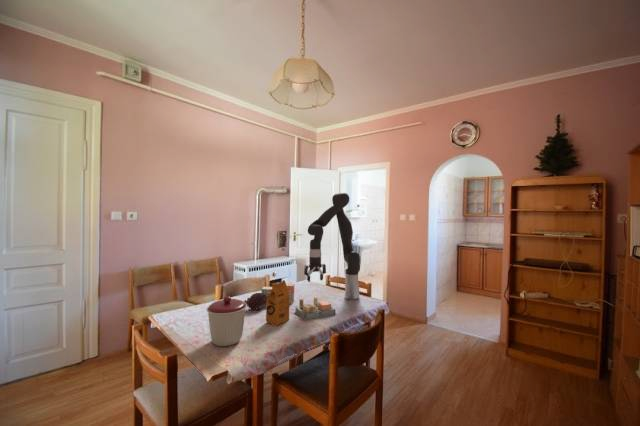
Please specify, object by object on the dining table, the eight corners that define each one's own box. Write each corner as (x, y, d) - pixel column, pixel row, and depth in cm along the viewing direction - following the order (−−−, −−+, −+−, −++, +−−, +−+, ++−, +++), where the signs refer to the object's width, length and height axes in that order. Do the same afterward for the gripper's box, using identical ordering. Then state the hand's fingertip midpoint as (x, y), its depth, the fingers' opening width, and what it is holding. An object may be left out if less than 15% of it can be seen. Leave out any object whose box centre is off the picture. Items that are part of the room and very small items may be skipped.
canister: (252, 343, 127) (253, 298, 127) (211, 355, 117) (212, 305, 117) (239, 329, 142) (239, 289, 142) (202, 338, 132) (202, 294, 131)
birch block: (304, 307, 175) (305, 298, 175) (316, 316, 161) (316, 306, 161) (296, 309, 173) (296, 299, 172) (307, 318, 158) (307, 308, 158)
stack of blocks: (261, 302, 184) (261, 284, 184) (263, 299, 190) (263, 282, 190) (292, 304, 182) (292, 285, 182) (294, 301, 188) (294, 283, 188)
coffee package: (263, 322, 151) (263, 282, 151) (278, 315, 162) (279, 278, 161) (276, 327, 146) (276, 285, 145) (291, 319, 156) (292, 281, 156)
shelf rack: (324, 306, 178) (324, 302, 178) (335, 314, 165) (335, 309, 165) (295, 311, 168) (295, 306, 168) (305, 319, 156) (305, 314, 156)
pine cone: (265, 303, 182) (265, 288, 182) (273, 307, 175) (274, 292, 175) (240, 309, 170) (240, 293, 170) (248, 314, 163) (248, 297, 163)
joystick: (318, 305, 180) (318, 296, 180) (331, 313, 166) (331, 303, 165) (310, 306, 177) (310, 297, 177) (322, 315, 163) (322, 305, 163)
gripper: (322, 254, 183) (322, 278, 184) (302, 255, 177) (302, 280, 178) (327, 256, 177) (327, 281, 177) (307, 257, 171) (307, 283, 171)
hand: (315, 280), depth 177 cm, fingers open, 8 cm apart
